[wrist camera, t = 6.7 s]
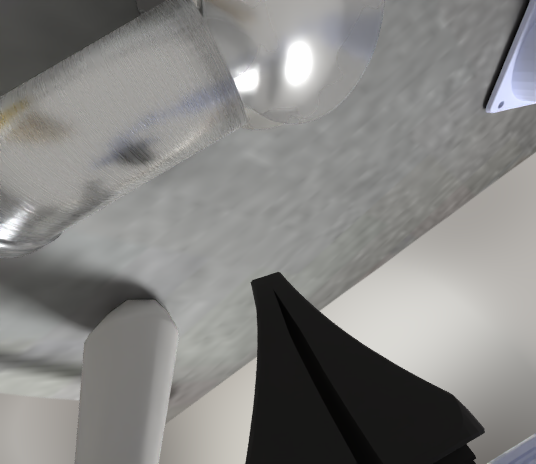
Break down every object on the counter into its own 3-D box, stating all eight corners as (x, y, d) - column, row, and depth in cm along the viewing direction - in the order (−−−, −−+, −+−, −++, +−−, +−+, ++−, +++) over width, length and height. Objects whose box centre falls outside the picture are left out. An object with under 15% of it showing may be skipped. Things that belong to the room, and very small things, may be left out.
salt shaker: (73, 322, 17) (-79, 715, 6) (136, 277, 16) (78, 617, 6) (140, 347, 20) (111, 622, 10) (192, 310, 20) (215, 557, 10)
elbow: (319, -130, 7) (426, -276, 4) (350, 75, 11) (419, 77, 8) (-89, 106, 7) (-283, 131, 4) (82, 233, 11) (47, 296, 8)
